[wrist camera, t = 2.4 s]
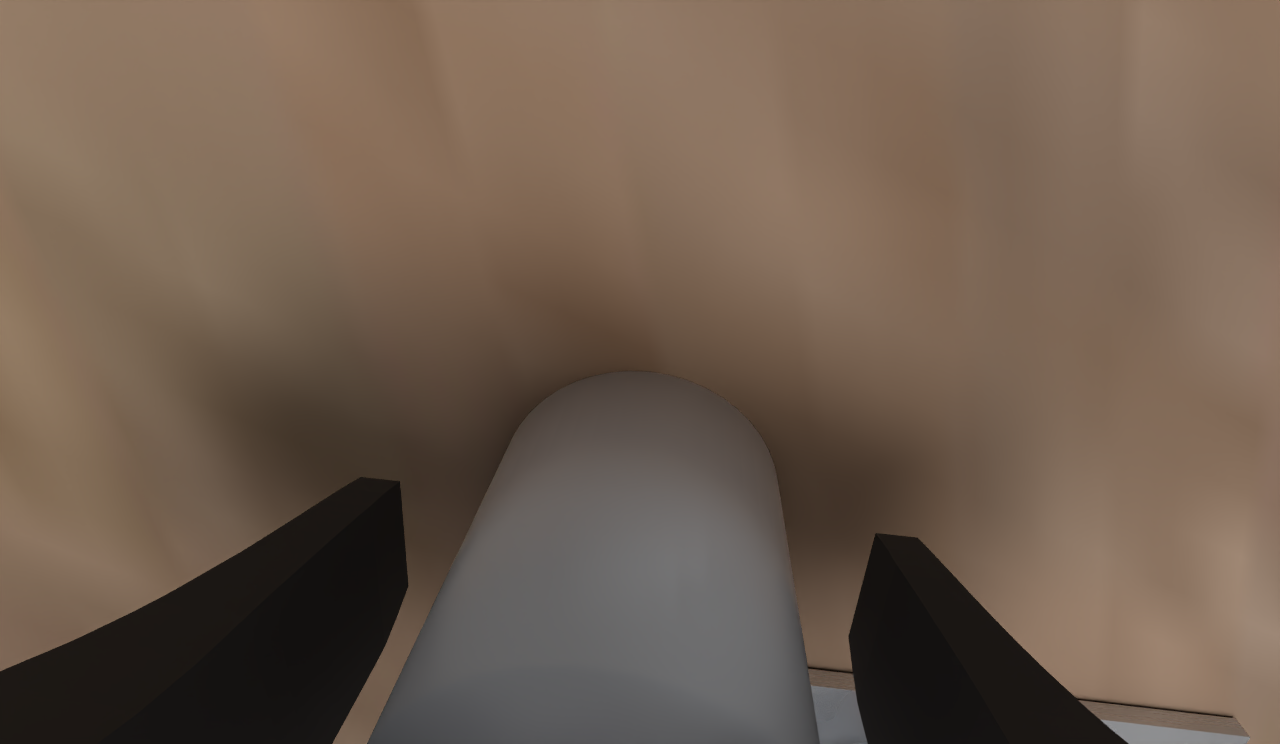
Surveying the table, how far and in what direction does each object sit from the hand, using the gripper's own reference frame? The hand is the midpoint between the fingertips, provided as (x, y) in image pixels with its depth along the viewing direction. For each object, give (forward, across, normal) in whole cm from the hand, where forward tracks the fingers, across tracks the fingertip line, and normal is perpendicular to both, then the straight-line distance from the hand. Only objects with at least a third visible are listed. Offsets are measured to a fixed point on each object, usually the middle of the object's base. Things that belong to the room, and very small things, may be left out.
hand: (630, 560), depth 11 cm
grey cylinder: (+2, 0, 0) cm, 2 cm away
